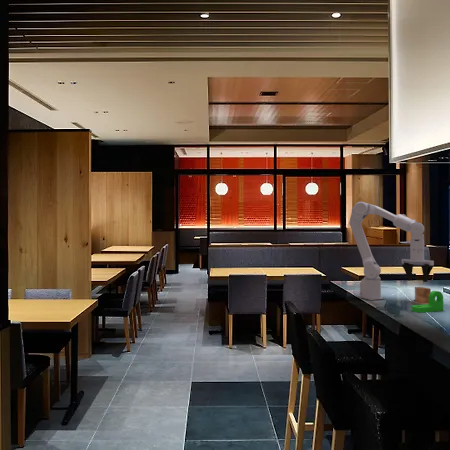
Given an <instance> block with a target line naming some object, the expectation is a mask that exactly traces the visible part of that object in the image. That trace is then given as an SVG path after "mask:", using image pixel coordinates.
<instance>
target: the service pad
mask: <svg viewBox="0 0 450 450" xmlns="http://www.w3.org/2000/svg"><path fill="white" fill-rule="evenodd" d="M425 304H429V303H425ZM425 304H422V303H417V302H416V301H412V302H411V305H425Z"/></svg>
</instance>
